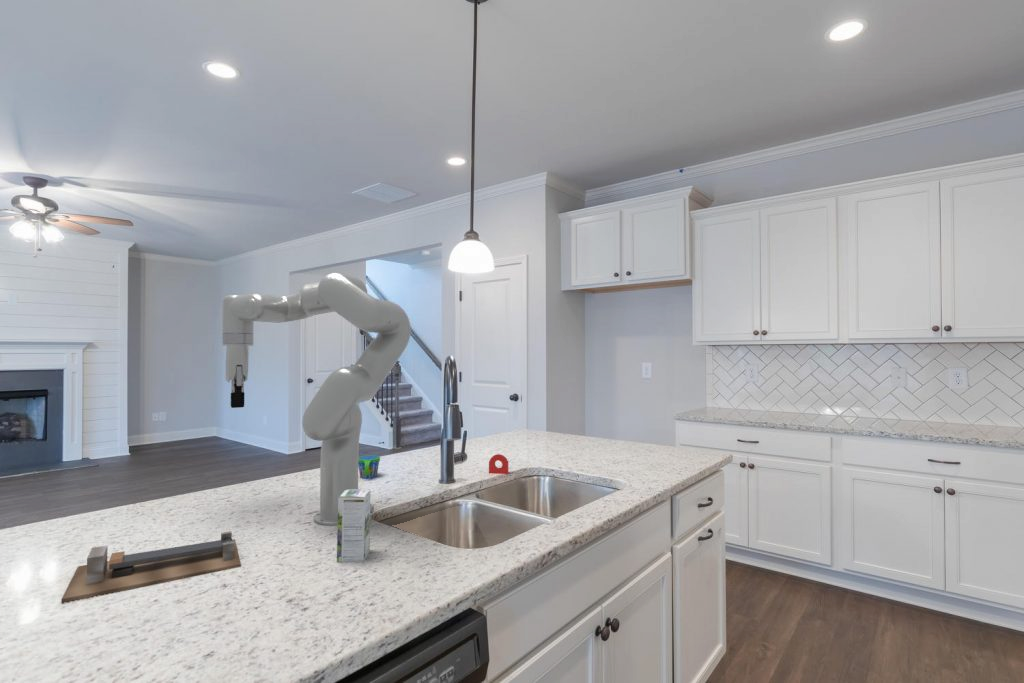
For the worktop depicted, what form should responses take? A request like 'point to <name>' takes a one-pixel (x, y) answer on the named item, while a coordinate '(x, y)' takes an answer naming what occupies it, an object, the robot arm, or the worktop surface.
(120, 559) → the strap
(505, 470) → the bracket
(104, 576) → the latch board
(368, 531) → the syrup box
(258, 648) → the worktop surface
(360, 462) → the snack cup
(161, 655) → the worktop surface
